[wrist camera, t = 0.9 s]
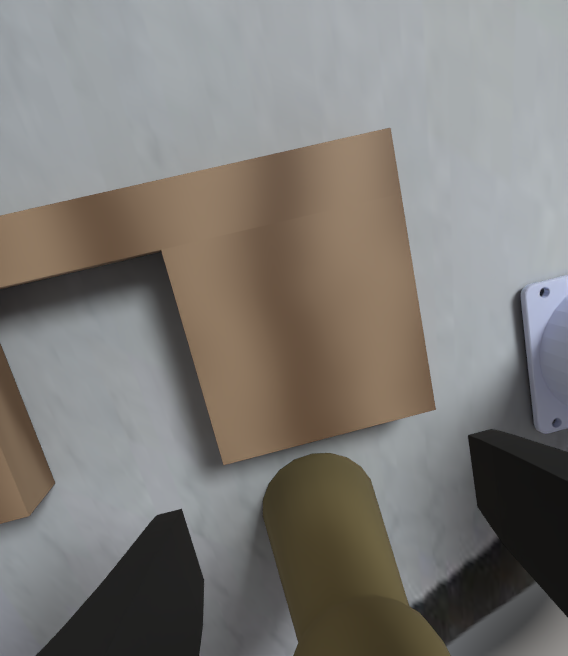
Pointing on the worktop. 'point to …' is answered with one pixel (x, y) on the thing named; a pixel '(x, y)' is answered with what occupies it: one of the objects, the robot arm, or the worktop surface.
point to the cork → (340, 564)
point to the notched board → (250, 295)
